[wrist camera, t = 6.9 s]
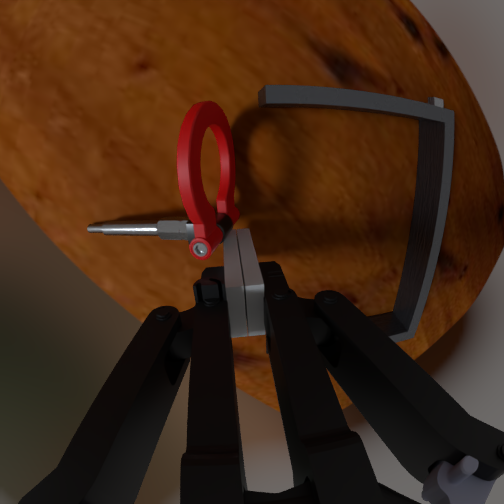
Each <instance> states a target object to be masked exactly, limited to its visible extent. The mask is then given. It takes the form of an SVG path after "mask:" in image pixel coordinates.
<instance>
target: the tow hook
mask: <svg viewBox="0 0 504 504" xmlns="http://www.w3.org/2000/svg"><path fill="white" fill-rule="evenodd" d="M208 126H209V127H210V128H211V130H212V131H213V133H214V135H215V137H216V140H217V144H218V148H219V154H220V165H221V177H220V186H219V191H218V195H217V200H216V202H217V212H218V213H215V210H214V208H213V207H212V206H211V205H210V204H209V202H208V200H207V198H206V195H205V192H204V189H203V184H202V179H201V167H200V157H201V146H202V140H203V137H204V133H205V131H206V129H207V127H208ZM177 174H178V184H179V190H180V194H181V198H182V202H183V205H184V208H185V210H186V212H187V215H188V217H163V218H161V219H160V220H135V221H106V222H104V223H103V224H89V225H88V228H87V229H88V232H89V233H104V235H122V236H159V237H160V238H161V239H168V240H183V239H184V240H188V241H189V244H190V246H189V247H190V252H191V254H192V255H193V256H194V257H195V258H197V259H199V260H205V259H208V258H209V257H210V256H211V254H212V253H213V252H214V250H215V249H216V248H217V246H218V245H219V244H221V243H222V242H223V241H224V240H225V238H226V237H227V236H228V234H229V233H230V232H231V230H232V228H233V225H234V224H235V223H236V221H237V220H238V219H239V216H240V213H239V210H238V209H237V208H236V207H235V205H234V190H235V152H234V145H233V138H232V134H231V130H230V126H229V123H228V120H227V117H226V116H225V114H224V112H223V110H222V109H221V108H220V107H219V106H218V105H217V104H216V103H215V102H212V101H204V102H199V103H197V104H194V105H193V106H192V107H191V109H190V110H189V111H188V112H187V114H186V116H185V118H184V121H183V123H182V126H181V129H180V134H179V140H178V145H177Z"/></svg>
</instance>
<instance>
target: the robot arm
mask: <svg viewBox="0 0 504 504" xmlns="http://www.w3.org/2000/svg"><path fill="white" fill-rule="evenodd" d="M237 241H238V243H237ZM193 290H194V296H195V301H196V305H195V306H194V307H193V308H191V309H189V310H186V311H183V312H179V311H178V309H176V308H175V307H172V306H161V307H158V308H156V309H154V310H153V311H152V312H151V313H150V314H149V315H148V317H147V318H146V320H145V321H144V323H143V324H142V326H141V327H140V329H139V330H138V332H137V333H136V335H135V336H134V338H133V340H132V341H131V342H130V344H129V345H128V347H127V349H126V350H125V352H124V353H123V355H122V356H121V358H120V360H119V361H118V363H117V364H116V366H115V367H114V369H113V371H112V372H111V374H110V375H109V377H108V379H107V380H106V382H105V384H104V385H103V387H102V389H101V390H100V392H99V393H98V395H97V397H96V398H95V400H94V402H93V403H92V405H91V407H90V409H89V410H88V412H87V414H86V416H85V417H84V419H83V421H82V422H81V424H80V426H79V428H78V429H77V431H76V433H75V435H74V437H73V438H72V440H71V442H70V444H69V446H68V447H67V449H66V451H65V453H64V455H63V457H62V459H61V461H60V463H59V464H58V466H57V468H56V469H54V470H53V471H52V472H51V473H50V474H49V475H48V476H47V477H45V478H44V479H43V480H42V481H41V482H40V483H39V484H38V485H36V486H35V487H34V488H33V489H32V490H31V491H29V492H28V493H27V494H26V495H25V496H24V497H22V499H21V500H20V501H19V503H18V504H134V502H135V500H136V498H137V495H138V492H139V490H140V487H141V484H142V481H143V479H144V476H145V474H146V471H147V468H148V466H149V463H150V461H151V458H152V455H153V453H154V450H155V448H156V445H157V442H158V440H159V437H160V435H161V432H162V430H163V427H164V425H165V422H166V420H167V417H168V414H169V412H170V409H171V407H172V404H173V402H174V399H175V396H176V394H177V392H178V389H179V387H180V384H181V382H182V379H183V377H184V374H185V372H186V369H187V367H188V364H189V362H190V357H191V366H190V380H189V398H188V420H187V448H186V452H185V453H184V454H183V455H182V458H181V476H180V504H421V503H419V502H416V501H414V500H412V499H410V498H408V497H406V496H404V495H402V494H400V493H398V492H396V491H394V490H392V489H390V488H388V487H387V486H385V485H383V484H381V483H378V482H377V479H376V477H375V474H374V471H373V469H372V466H371V463H370V460H369V458H368V455H367V453H366V450H365V447H364V445H363V442H362V440H361V438H360V436H359V435H358V433H356V432H354V431H351V430H350V429H349V427H348V425H347V422H346V420H345V417H344V414H343V412H342V409H341V406H340V404H339V401H338V398H337V396H336V393H335V390H334V388H333V385H332V383H331V380H330V377H329V375H328V372H327V370H328V371H329V372H330V373H331V375H332V376H333V377H334V379H335V380H336V381H337V383H338V384H339V385H340V386H341V388H342V389H343V390H344V392H345V393H346V394H347V396H348V397H349V398H350V399H351V401H352V402H353V403H354V405H355V406H356V407H357V408H358V410H359V411H360V412H361V414H362V415H363V416H364V417H365V419H366V420H367V421H368V423H369V424H370V425H371V426H372V428H373V429H374V430H375V432H376V433H377V434H378V435H379V437H380V438H381V439H382V441H383V442H384V443H385V444H386V446H387V447H388V448H389V449H390V450H391V452H392V453H393V454H394V456H395V457H396V458H397V460H398V461H399V462H400V463H401V465H402V466H403V467H404V468H405V469H406V470H407V471H408V472H409V473H410V474H411V475H412V476H413V477H414V478H416V479H417V480H418V481H420V482H421V483H423V484H424V485H423V491H422V498H423V500H425V501H429V502H430V503H431V504H485V501H486V499H487V497H488V495H489V493H490V491H491V489H492V486H493V484H494V482H495V480H496V479H497V478H498V477H500V476H501V475H502V474H504V432H502V431H500V430H498V429H496V428H494V427H492V426H490V425H488V424H486V423H484V422H482V421H479V420H477V419H476V418H474V417H472V416H470V415H469V414H468V413H467V412H466V411H465V410H464V409H463V408H462V407H461V406H460V405H459V404H458V403H457V402H456V401H455V400H454V399H453V398H452V397H451V396H450V395H449V394H448V393H447V392H446V391H445V390H444V389H443V388H442V387H441V386H440V385H439V384H438V383H437V382H436V381H435V380H434V379H433V378H432V377H431V376H430V375H429V374H427V373H426V372H425V371H424V370H423V369H422V368H421V367H420V366H419V365H418V364H417V363H416V362H415V361H414V360H413V359H412V358H411V357H410V356H409V355H408V354H407V353H405V352H404V351H403V350H402V349H401V348H400V347H399V346H398V345H397V344H396V343H395V342H394V341H393V340H392V339H391V338H389V337H388V336H387V335H386V334H385V333H384V332H383V331H382V330H381V329H380V328H379V327H378V326H376V325H375V324H374V323H373V322H372V321H371V320H370V319H369V318H368V317H367V316H366V315H364V314H363V313H362V312H361V311H360V310H359V309H358V308H357V307H356V306H355V305H353V304H352V303H351V302H350V301H349V300H348V299H347V298H346V297H345V296H343V295H342V294H341V293H339V292H336V291H332V290H325V291H321V292H319V293H317V294H316V295H315V299H305V298H300V297H297V295H296V293H295V292H294V290H292V289H290V288H289V286H288V284H287V281H286V279H285V276H284V274H283V271H282V269H281V267H280V265H279V264H277V263H276V262H275V261H271V262H260V263H258V260H257V256H256V252H255V249H254V245H253V241H252V238H251V234H250V230H249V228H247V229H237V236H236V229H234V230H231V232H230V233H229V234H228V236H227V237H226V238H225V240H224V266H221V267H209V268H206V269H205V270H204V271H203V272H202V276H201V279H200V280H198V281H196V282H195V283H194V285H193ZM246 320H247V324H246ZM247 327H248V334H249V336H254V335H264V334H265V330H266V352H267V354H268V353H269V358H270V363H271V367H272V372H273V377H274V382H275V387H276V392H277V397H278V402H279V407H280V412H281V416H282V421H283V426H284V431H285V436H286V441H287V446H288V451H289V456H290V460H291V465H292V470H293V481H294V487H293V488H291V489H288V490H286V491H283V492H280V493H265V492H255V491H248V490H247V483H246V477H245V470H244V462H243V461H244V460H243V451H242V442H241V433H240V424H239V416H238V415H239V414H238V405H237V394H236V383H235V372H234V361H233V349H232V340H231V338H233V337H244V336H247ZM326 368H327V370H326Z"/></svg>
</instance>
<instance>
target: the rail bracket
mask: <svg viewBox="0 0 504 504" xmlns="http://www.w3.org/2000/svg"><path fill="white" fill-rule="evenodd" d="M258 101H259V107H304V108H327V109H341V110H353V111H363V112H371V113H379V114H386V115H393V116H399V117H405V118H411V119H417V120H419V148H418V167H417V180H416V191H415V200H414V208H413V216H412V223H411V229H410V236H409V241H408V247H407V252H406V258H405V263H404V267H403V272H402V277H401V281H400V285H399V290H398V294H397V298H396V301H395V305H394V309H393V312H390V313H385V314H380V315H375V316H370V317H368V318H369V319H370V320H371V321H372V322H373V323H374V324H375V325H376V326H378V327H379V328H380V329H381V330H382V331H383V332H384V333H385V334H386V335H387V336H388V337H389V338H391V339H392V340H393V341H394V342H395V343H396V342H399V341H403V340H406V339H410V338H413V337H414V335H415V332H416V329H417V327H418V324H419V321H420V318H421V315H422V312H423V309H424V306H425V303H426V300H427V296H428V293H429V290H430V286H431V283H432V279H433V275H434V272H435V268H436V264H437V260H438V255H439V251H440V246H441V242H442V237H443V232H444V226H445V221H446V215H447V208H448V202H449V194H450V186H451V177H452V165H453V150H454V111H452V110H449V109H445V108H443V100H442V99H439V98H435V97H428V104H427V103H423V102H418V101H414V100H409V99H405V98H400V97H395V96H389V95H384V94H378V93H371V92H365V91H357V90H349V89H340V88H329V87H316V86H296V85H265V86H264V87H263V88H262V89H261V90H260V91H259V92H258Z"/></svg>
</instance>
